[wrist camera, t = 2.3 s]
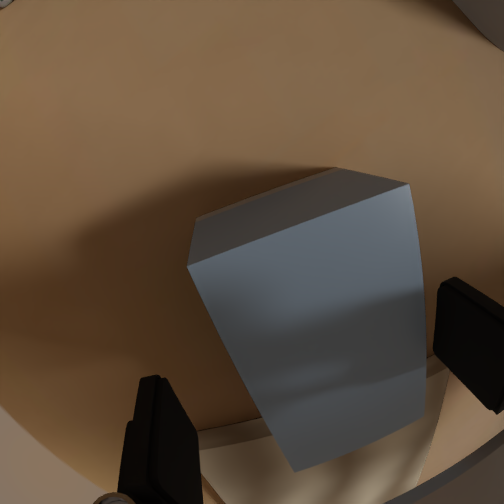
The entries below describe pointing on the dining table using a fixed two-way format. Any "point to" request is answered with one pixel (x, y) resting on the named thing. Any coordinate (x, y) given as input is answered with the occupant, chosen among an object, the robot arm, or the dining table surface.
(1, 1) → the syrup box
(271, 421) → the block
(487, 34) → the paw print
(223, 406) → the dining table surface
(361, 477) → the birch board
